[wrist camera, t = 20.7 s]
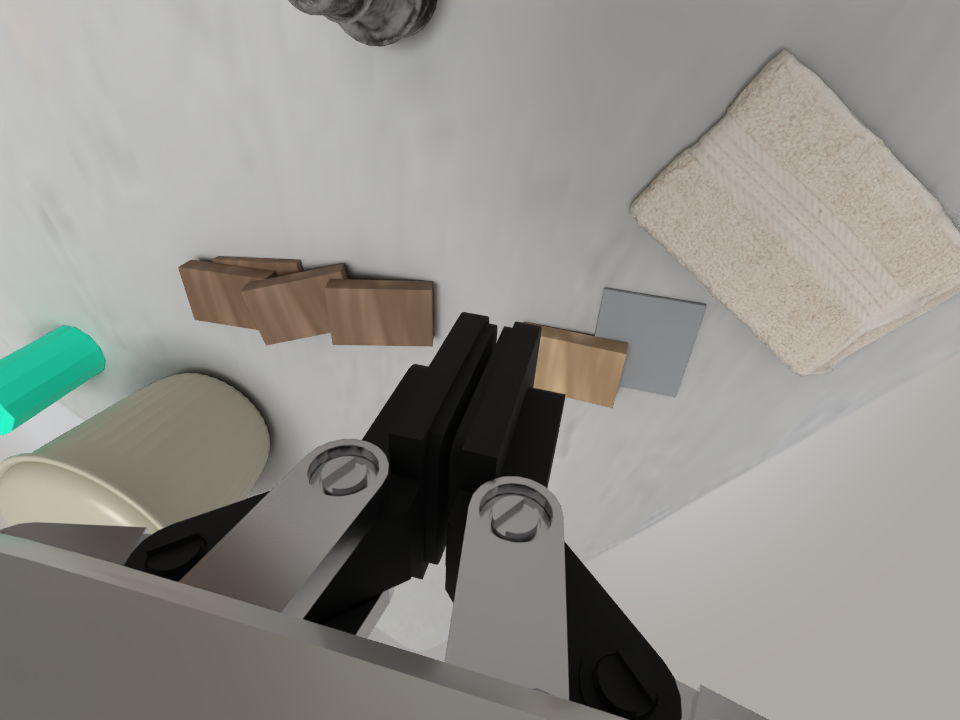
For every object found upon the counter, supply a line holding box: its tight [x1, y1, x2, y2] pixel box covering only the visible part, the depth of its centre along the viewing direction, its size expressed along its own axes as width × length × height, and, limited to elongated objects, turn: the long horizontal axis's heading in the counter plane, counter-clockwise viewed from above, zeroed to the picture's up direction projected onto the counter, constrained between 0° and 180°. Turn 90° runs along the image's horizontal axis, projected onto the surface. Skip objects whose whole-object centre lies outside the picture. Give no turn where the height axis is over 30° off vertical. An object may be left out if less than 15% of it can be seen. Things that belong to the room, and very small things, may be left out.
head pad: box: [595, 288, 706, 397], centre depth 40 cm, size 7×8×1 cm
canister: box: [0, 373, 270, 534], centre depth 49 cm, size 18×18×21 cm
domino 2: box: [213, 256, 304, 277], centre depth 46 cm, size 2×5×8 cm
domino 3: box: [241, 264, 349, 345], centre depth 44 cm, size 2×5×8 cm
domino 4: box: [325, 279, 433, 346], centre depth 42 cm, size 2×5×8 cm
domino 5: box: [524, 322, 628, 408], centre depth 42 cm, size 2×5×8 cm
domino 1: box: [178, 260, 277, 330], centre depth 46 cm, size 2×5×8 cm
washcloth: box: [629, 49, 960, 376], centre depth 33 cm, size 12×18×3 cm, turn 53°
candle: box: [0, 326, 105, 435], centre depth 52 cm, size 6×6×12 cm
